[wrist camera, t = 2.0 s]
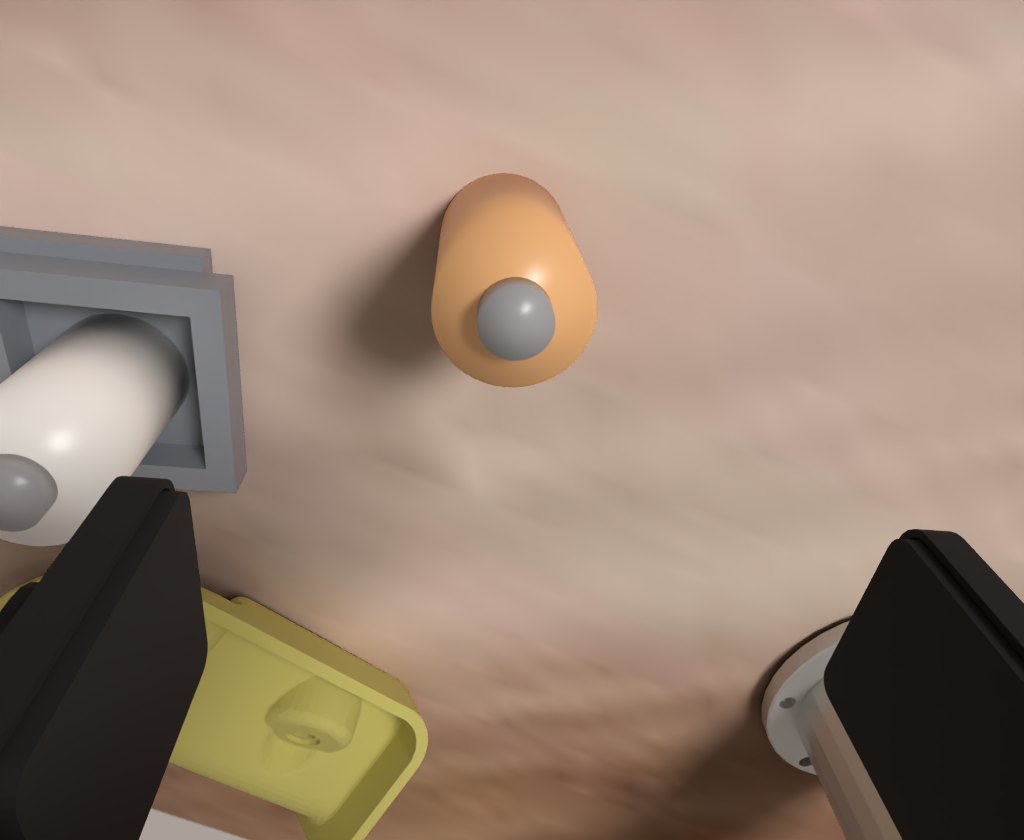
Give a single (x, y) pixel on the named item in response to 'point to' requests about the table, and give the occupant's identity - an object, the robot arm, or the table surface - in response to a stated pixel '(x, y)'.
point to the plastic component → (297, 721)
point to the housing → (154, 299)
